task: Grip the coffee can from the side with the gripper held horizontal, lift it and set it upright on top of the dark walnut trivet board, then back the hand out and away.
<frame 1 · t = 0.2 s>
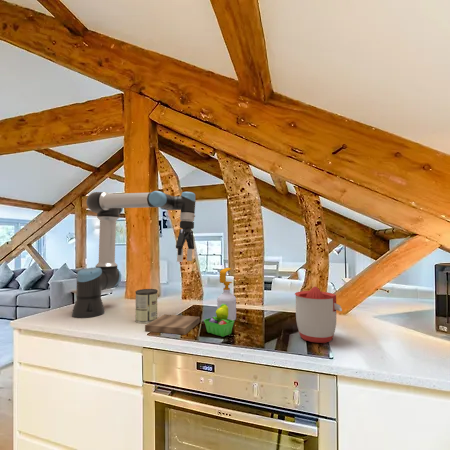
hand: (184, 261, 149), 27 cm above the counter, tool pointing down, fingers open, 13 cm apart
soap bottle: (226, 319, 137), on the counter
fruit basket: (219, 333, 117), on the counter
citrus juicer: (318, 339, 109), on the counter
walnut trivet board: (173, 326, 125), on the counter
coffee can: (146, 320, 135), on the counter
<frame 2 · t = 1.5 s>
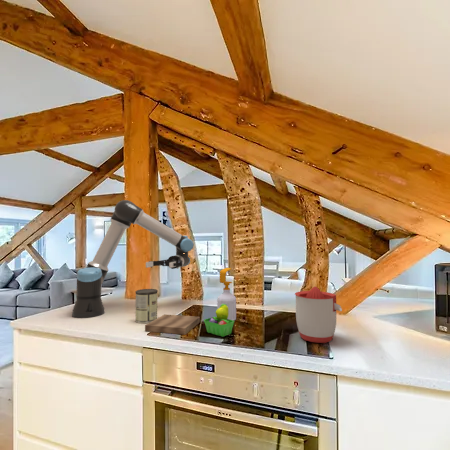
hand: (157, 265, 147), 25 cm above the counter, tool horizontal, fingers open, 13 cm apart
nothing on the counter moved.
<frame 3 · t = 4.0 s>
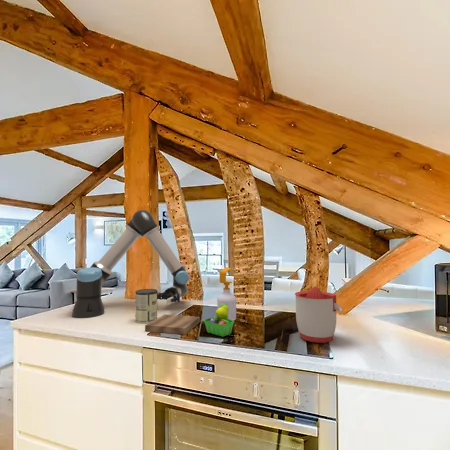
hand: (154, 301, 143), 7 cm above the counter, tool horizontal, fingers open, 13 cm apart
nothing on the counter moved.
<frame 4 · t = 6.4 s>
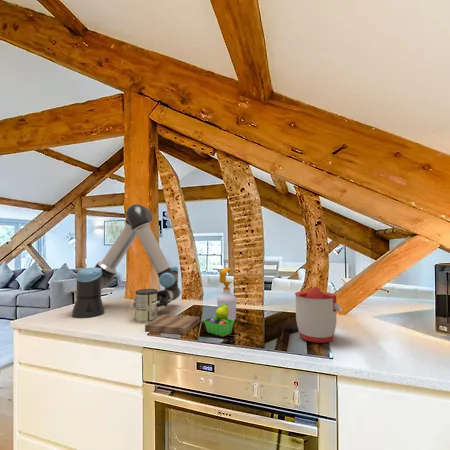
hand: (141, 306, 131), 8 cm above the counter, tool horizontal, fingers closed on coffee can, 10 cm apart
coffee can: (146, 320, 135), on the counter, touching gripper
everything else where it was.
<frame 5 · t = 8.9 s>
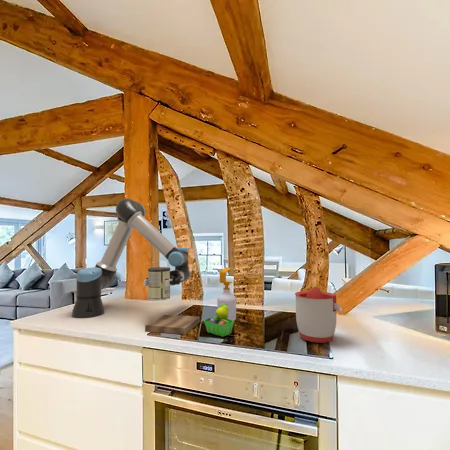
hand: (154, 283, 129), 18 cm above the counter, tool horizontal, fingers closed on coffee can, 10 cm apart
coffee can: (159, 298, 132), point 11 cm above the counter, touching gripper
everything else where it was.
when the fingers open (11 cm above the counter, at t = 11.8 s): coffee can drops 1 cm, resting on walnut trivet board.
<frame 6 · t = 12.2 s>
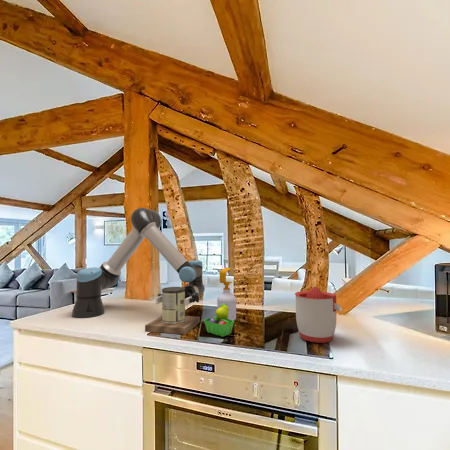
hand: (170, 301, 122), 11 cm above the counter, tool horizontal, fingers open, 13 cm apart
coffee can: (173, 321, 125), point 2 cm above the counter, touching walnut trivet board
everything else where it was.
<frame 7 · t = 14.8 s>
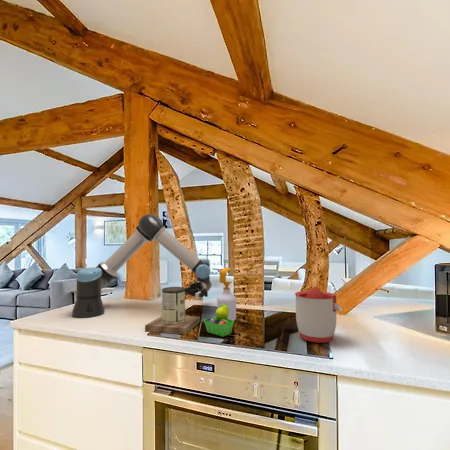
hand: (182, 296, 135), 12 cm above the counter, tool horizontal, fingers open, 13 cm apart
nothing on the counter moved.
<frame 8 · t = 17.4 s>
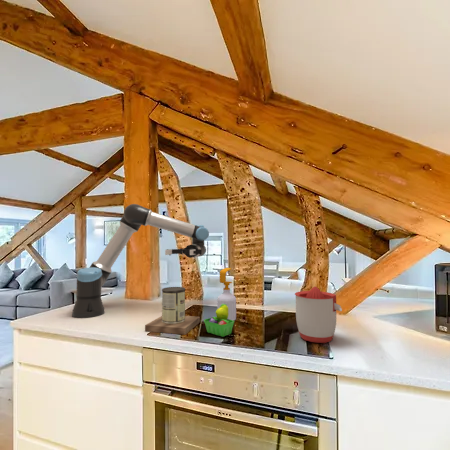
hand: (178, 252, 145), 32 cm above the counter, tool horizontal, fingers open, 13 cm apart
nothing on the counter moved.
at the end: coffee can inside the target area on the walnut trivet board (0.2 cm from its centre), point 2.3 cm above the walnut trivet board's base; coffee can tilted 0°; the gripper is holding nothing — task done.
